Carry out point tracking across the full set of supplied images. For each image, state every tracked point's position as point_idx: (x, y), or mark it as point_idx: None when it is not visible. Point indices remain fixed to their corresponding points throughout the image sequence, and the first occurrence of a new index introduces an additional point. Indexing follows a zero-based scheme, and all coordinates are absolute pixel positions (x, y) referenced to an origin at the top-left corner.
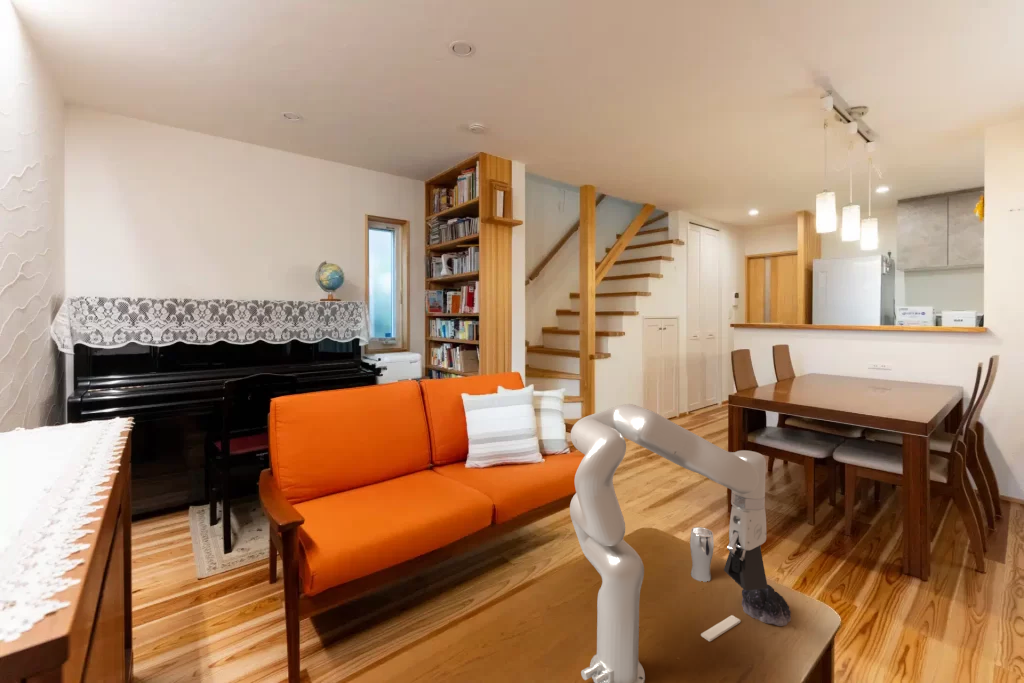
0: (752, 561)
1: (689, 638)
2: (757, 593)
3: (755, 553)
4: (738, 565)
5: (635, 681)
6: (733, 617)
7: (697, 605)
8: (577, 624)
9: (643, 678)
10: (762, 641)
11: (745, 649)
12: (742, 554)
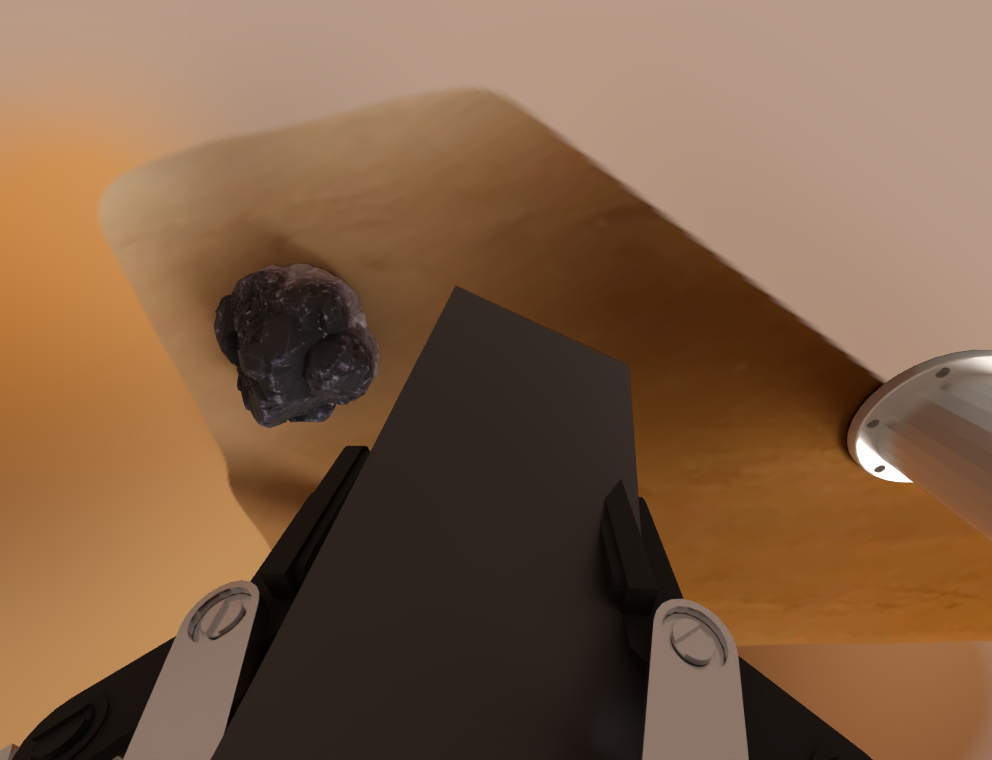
0: (502, 525)
1: (633, 393)
2: (334, 372)
3: (410, 616)
4: (661, 552)
5: (968, 372)
6: None
7: None
8: (804, 553)
9: (938, 367)
10: (451, 264)
11: (537, 275)
12: (744, 728)
